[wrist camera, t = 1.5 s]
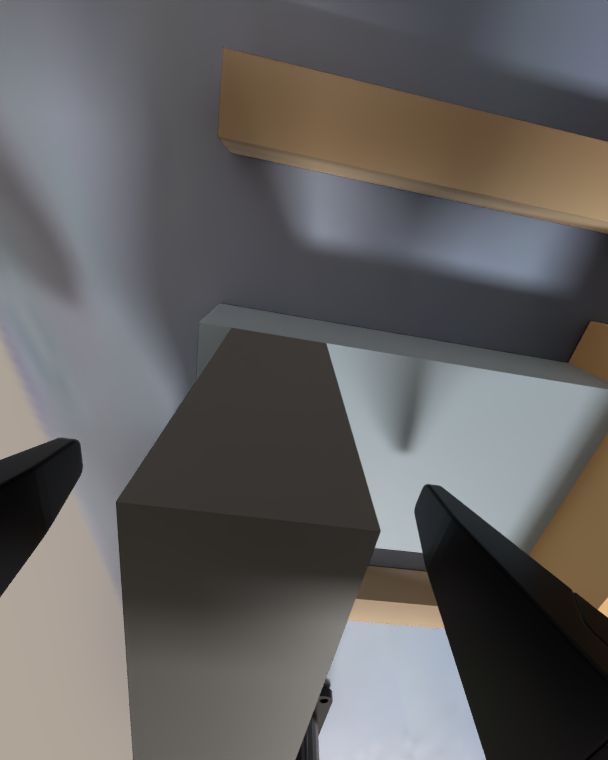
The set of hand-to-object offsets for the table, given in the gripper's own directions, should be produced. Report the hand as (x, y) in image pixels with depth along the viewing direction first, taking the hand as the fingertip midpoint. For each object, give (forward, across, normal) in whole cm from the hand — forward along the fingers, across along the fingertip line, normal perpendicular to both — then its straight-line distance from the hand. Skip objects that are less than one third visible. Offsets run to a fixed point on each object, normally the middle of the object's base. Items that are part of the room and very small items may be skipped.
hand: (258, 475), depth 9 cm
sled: (+4, -4, 0) cm, 6 cm away
